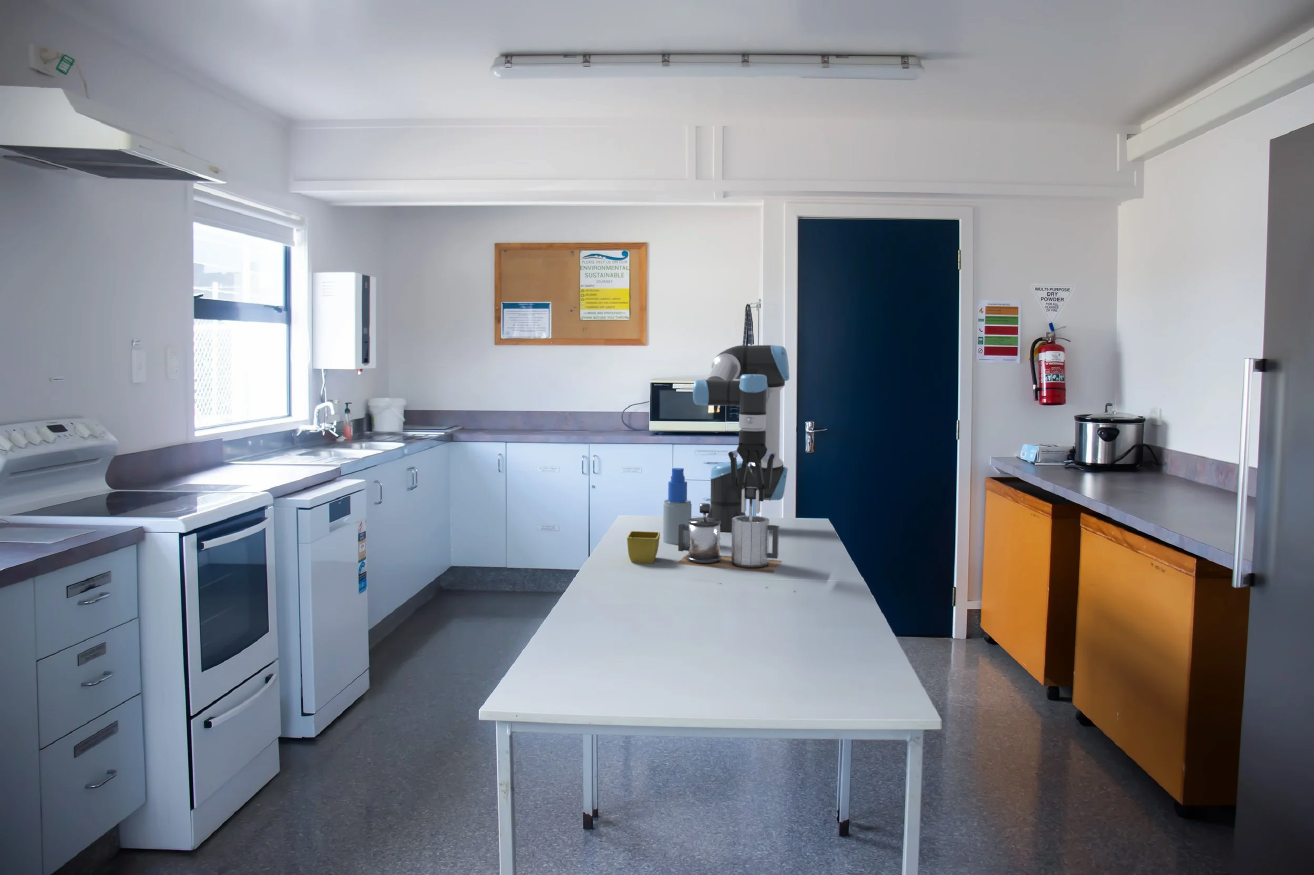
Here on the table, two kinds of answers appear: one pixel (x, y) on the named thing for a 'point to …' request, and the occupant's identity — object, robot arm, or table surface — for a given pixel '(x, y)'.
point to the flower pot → (643, 546)
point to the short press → (701, 538)
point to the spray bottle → (676, 508)
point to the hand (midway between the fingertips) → (750, 511)
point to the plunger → (750, 494)
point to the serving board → (727, 564)
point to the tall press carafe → (753, 542)
